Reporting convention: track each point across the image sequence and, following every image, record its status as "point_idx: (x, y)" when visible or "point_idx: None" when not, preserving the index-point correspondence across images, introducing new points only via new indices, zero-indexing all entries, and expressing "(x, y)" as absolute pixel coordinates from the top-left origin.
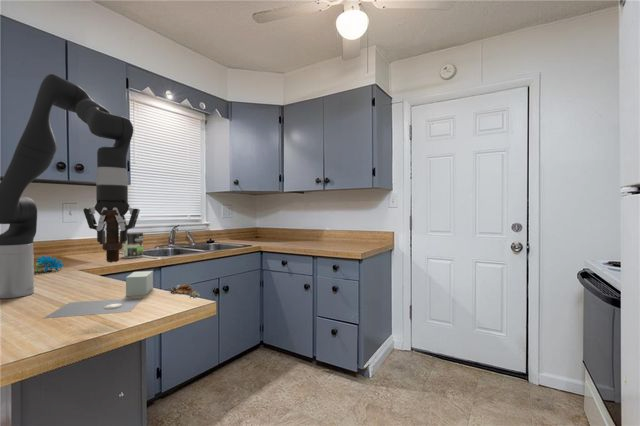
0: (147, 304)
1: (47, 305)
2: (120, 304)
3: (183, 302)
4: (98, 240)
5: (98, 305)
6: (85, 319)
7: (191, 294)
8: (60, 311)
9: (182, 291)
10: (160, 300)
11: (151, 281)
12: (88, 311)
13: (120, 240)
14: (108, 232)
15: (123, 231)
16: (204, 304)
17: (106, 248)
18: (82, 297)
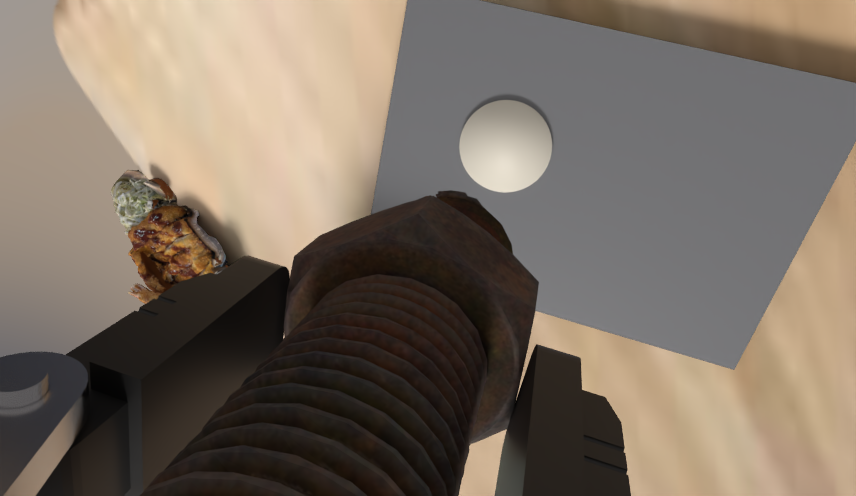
0: (346, 167)
1: (841, 431)
2: (469, 161)
3: (178, 109)
4: (599, 411)
5: (583, 217)
6: (643, 23)
7: (145, 207)
8: (783, 194)
9: (177, 241)
10: (290, 212)
11: None
12: (632, 109)
13: (255, 279)
14: (383, 412)
15: (93, 377)
16: (75, 12)
17: (483, 239)
18: (667, 486)
